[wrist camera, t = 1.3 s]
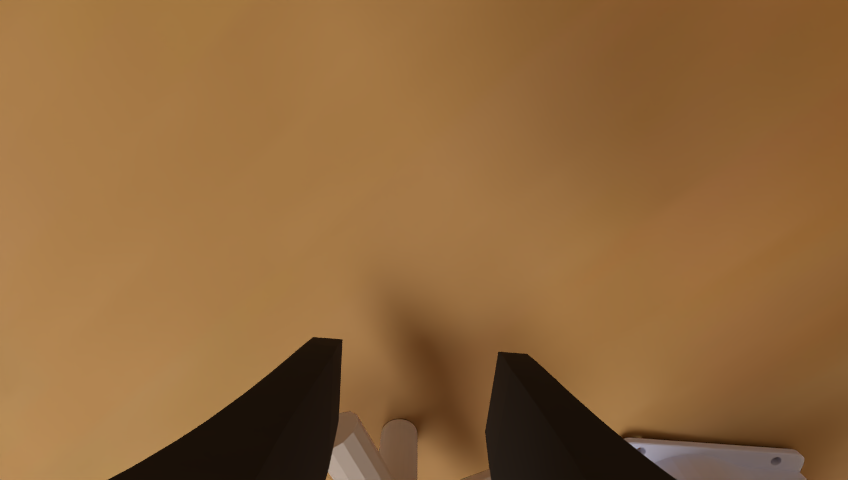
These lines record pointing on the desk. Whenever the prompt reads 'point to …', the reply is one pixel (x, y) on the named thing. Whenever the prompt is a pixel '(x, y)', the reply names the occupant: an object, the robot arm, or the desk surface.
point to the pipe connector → (362, 463)
